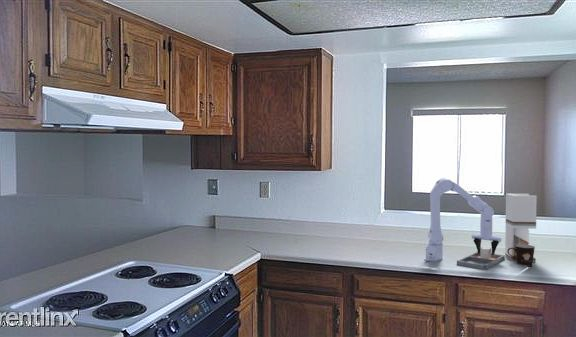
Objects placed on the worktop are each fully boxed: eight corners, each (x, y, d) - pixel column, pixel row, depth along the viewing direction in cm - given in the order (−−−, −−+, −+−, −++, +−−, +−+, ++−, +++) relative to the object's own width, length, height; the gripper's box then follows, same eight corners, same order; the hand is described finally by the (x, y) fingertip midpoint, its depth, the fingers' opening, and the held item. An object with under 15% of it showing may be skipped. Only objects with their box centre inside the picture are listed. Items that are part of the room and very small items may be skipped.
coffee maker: (512, 261, 228) (513, 195, 227) (505, 256, 239) (505, 193, 237) (535, 262, 226) (536, 195, 225) (527, 257, 237) (528, 193, 236)
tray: (485, 271, 209) (485, 265, 209) (456, 266, 219) (456, 260, 219) (504, 261, 229) (504, 255, 229) (477, 256, 239) (477, 251, 239)
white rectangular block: (488, 261, 226) (488, 249, 226) (480, 259, 229) (480, 248, 228) (490, 259, 229) (491, 248, 229) (483, 258, 232) (483, 247, 231)
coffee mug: (536, 265, 220) (536, 245, 220) (532, 268, 214) (532, 248, 214) (511, 261, 228) (511, 242, 228) (506, 264, 222) (506, 245, 221)
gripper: (503, 228, 226) (503, 254, 227) (475, 225, 236) (474, 250, 237) (498, 230, 221) (498, 256, 222) (470, 227, 231) (469, 252, 232)
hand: (486, 253), depth 229 cm, fingers open, 6 cm apart
